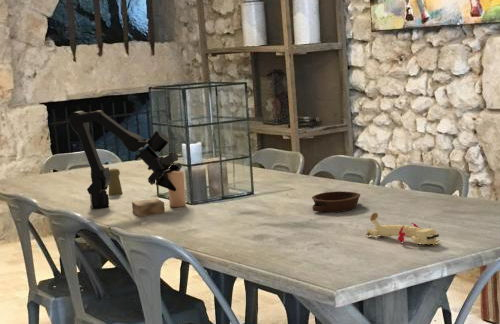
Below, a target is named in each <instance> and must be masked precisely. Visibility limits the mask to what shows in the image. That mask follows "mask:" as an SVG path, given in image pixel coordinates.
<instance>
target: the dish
mask: <svg viewBox="0 0 500 324" xmlns="http://www.w3.org/2000/svg"><path fill="white" fill-rule="evenodd" d="M360 197H361V194H360V193H358V192H355V191H343V190H342V191H337V190H336V191H326V192H321V193H317V194H314V195H313V196H312V197H311V199H312V201H313V203H314V204H313V205H312V211H313V212H323V211H325V212H324V213H338V212H337V211H341V212H345V210H347V211H350V209H351V210H353V209H355V208H356V207H357V205H358V202H359V199H360Z"/></svg>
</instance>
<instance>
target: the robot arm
mask: <svg viewBox="0 0 500 324" xmlns="http://www.w3.org/2000/svg"><path fill="white" fill-rule="evenodd" d="M91 122H97V123H98V124H99V125H101V126H102V127H103V128H105V129H106V130H107V131H108V132H110V133H111V134H113V135H114V136H115V137H117V138H118V139H119V140H120V142H121V143H122V144H123V146H124V147H125V148H126V149H127V150H128V151H129V152H131V153H133V152H134V153H135V152H138V151H139V152H138V153H135V154H134V155H135V157H134V161H135V162H136V161H140V160H142V162H143V163H145V165H146V166H147V169H148V171H152V173H151V174H150V175H149V177H148V178H147V182H148V183H149V184H150V185H152V186H153V185H155V186H159V187H162V188H165V189H167V190H168V189H170V190H172V191H176V188H175V186H174V185H173V184H172V183H171V181H170V180H169V179H168V174H167V173H168V172H173V171H181V169H182V167H183V166H182V165H181V163H180V162H178V161H179V154H178V153H177V152H175V151H172V152H169V153H168V155H165V156H159V155H158V154H157V153H161V152H162V151H163V150H164V149H165V148H166V147H167V146H168V145H169V144H170V142H171V140H170V139H169V137H168V136H167V135H166V134H164V133H162V132H160V131H159V130H155V132H154V133H153V135H151V137H150V138H143V137H142V136H141V135H139V134H137V133H135V132H132V131H130V130H127V129H126V128H124V127H123V126H122V125H120V124H119V123H118V122H117V121H116V120H114V119H113V118H111V117H110V116H109V115H108V114H106V113H105V112H104V111H103V110H101V109H100V110H99V109H98V110H95V111H94V110H93V111H88V112H85V111H84V110H79V111H77V110H76V111H74V112H72V113H71V114H69V116H68V123H69V125H70V127H71V128H72V130H73V131H74V133H76V134H77V136H78V139H79V141H80V143H81V146H82V148H83V151H84V154H85V156H86V158H87V162H88V165H89V167H90V178H91V184H90V185H89V186H88V187H87V188H86V191H87V193H88V194H89V200H90V205H89V206H90V208H91V209H93V210H96V209H102V208H109V207H110V200H109V199H110V198H109V193H108V194H107V190H108V189H109V184H110V183H111V177H112V175H111V174H110V172H109V170H110V168H109V167H108V166H107V167H104V166H103V164H102V162H101V159H100V156H99V153H98V151H97V148H96V146H95V143H94V140H93V138H92V135H91V133H90V123H91Z"/></svg>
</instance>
